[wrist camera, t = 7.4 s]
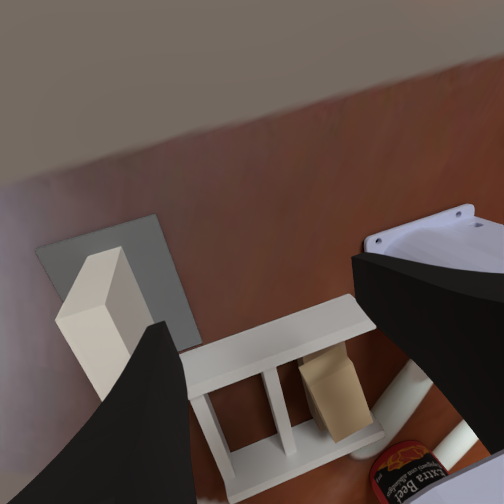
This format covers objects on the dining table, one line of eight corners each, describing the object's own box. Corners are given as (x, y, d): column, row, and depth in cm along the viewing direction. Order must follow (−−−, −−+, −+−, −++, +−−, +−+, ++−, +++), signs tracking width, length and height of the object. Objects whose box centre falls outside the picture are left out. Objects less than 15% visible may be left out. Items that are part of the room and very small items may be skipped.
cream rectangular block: (121, 246, 20) (105, 304, 14) (164, 347, 23) (167, 431, 17) (87, 256, 20) (55, 320, 13) (136, 357, 23) (128, 446, 17)
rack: (349, 293, 26) (375, 317, 23) (361, 405, 32) (384, 437, 28) (177, 355, 24) (180, 390, 21) (222, 464, 29) (230, 505, 26)
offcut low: (328, 319, 27) (343, 336, 25) (342, 394, 31) (356, 416, 29) (289, 334, 27) (301, 354, 24) (308, 409, 30) (320, 432, 28)
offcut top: (338, 345, 25) (352, 363, 23) (359, 402, 28) (373, 422, 26) (298, 367, 25) (309, 386, 23) (323, 422, 28) (335, 443, 26)
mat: (155, 213, 20) (155, 214, 20) (202, 340, 24) (202, 342, 24) (36, 248, 19) (34, 250, 19) (105, 374, 23) (105, 377, 23)
